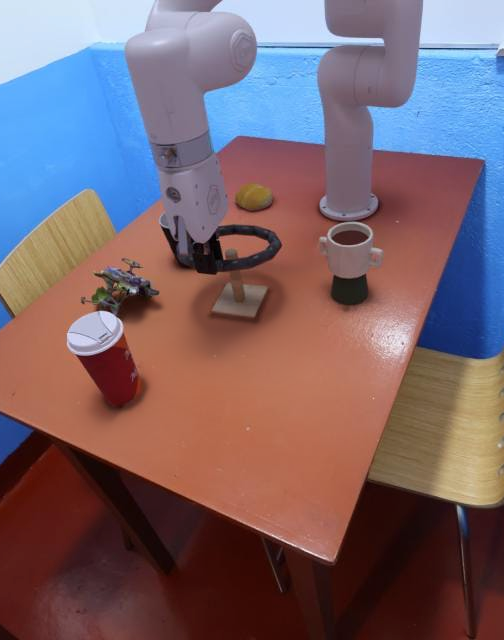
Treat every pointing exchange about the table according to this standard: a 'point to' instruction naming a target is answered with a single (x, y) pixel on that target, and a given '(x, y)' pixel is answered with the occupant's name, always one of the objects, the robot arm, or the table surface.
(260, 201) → the bread roll
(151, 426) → the table surface
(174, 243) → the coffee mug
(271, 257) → the ring
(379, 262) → the white handled cup
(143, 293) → the passion flower
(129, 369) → the paper cup
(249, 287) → the post
